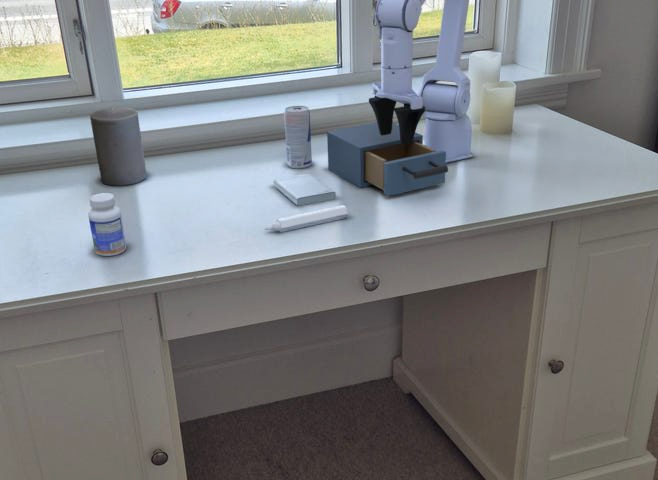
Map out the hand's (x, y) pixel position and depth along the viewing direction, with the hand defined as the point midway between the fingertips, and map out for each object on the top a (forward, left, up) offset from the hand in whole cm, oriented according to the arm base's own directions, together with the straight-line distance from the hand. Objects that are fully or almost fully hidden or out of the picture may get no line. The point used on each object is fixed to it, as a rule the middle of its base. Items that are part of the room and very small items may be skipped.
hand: (395, 139), depth 159 cm
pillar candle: (+44, -37, -10) cm, 58 cm away
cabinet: (-2, -11, -10) cm, 15 cm away
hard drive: (+16, -8, -10) cm, 21 cm away
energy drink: (+9, -24, -10) cm, 27 cm away
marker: (+24, +8, -10) cm, 27 cm away
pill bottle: (+57, -1, -10) cm, 58 cm away
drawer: (-2, +1, -9) cm, 9 cm away
